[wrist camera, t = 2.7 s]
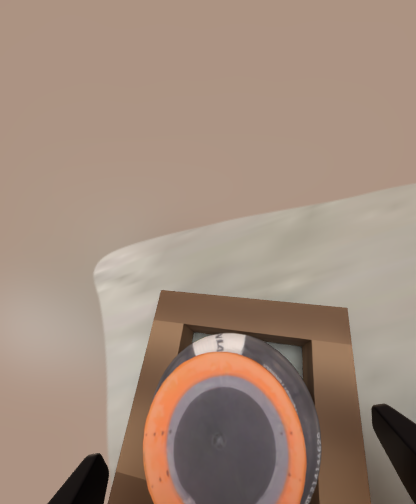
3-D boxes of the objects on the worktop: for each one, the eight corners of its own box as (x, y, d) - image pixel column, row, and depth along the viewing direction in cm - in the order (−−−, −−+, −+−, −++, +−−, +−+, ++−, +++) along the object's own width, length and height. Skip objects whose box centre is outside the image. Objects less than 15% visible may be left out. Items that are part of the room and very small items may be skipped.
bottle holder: (355, 570, 11) (385, 627, 9) (129, 500, 14) (101, 528, 11) (332, 319, 17) (347, 307, 14) (173, 302, 19) (161, 290, 17)
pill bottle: (205, 344, 17) (144, 299, 8) (289, 360, 16) (350, 330, 6) (187, 445, 15) (57, 576, 5) (286, 474, 13) (382, 739, 4)
